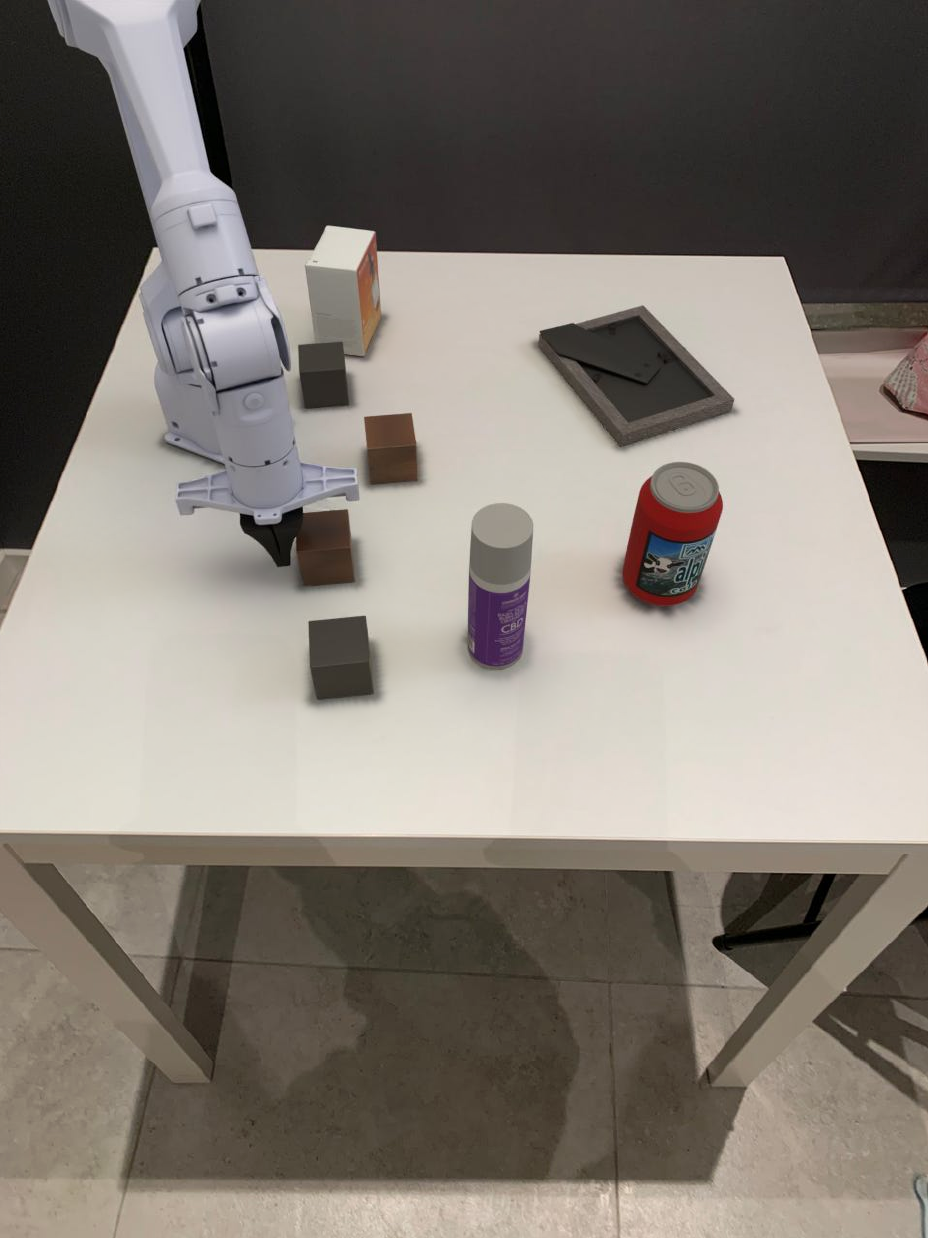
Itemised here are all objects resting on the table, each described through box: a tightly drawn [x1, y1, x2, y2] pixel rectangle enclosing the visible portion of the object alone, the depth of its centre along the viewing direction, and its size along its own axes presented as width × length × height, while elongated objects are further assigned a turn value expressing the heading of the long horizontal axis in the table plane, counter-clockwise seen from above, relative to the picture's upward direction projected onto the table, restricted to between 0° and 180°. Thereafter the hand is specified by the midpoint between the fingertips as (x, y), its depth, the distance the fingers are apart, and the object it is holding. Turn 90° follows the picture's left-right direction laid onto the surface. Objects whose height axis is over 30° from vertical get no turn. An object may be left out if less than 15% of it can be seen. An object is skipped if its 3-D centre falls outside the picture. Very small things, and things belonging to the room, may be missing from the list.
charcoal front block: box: [307, 615, 375, 700], centre depth 75 cm, size 5×5×5 cm
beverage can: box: [621, 461, 724, 607], centre depth 78 cm, size 7×7×12 cm
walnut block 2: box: [363, 412, 419, 485], centre depth 90 cm, size 5×5×5 cm
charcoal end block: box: [297, 342, 350, 409], centre depth 97 cm, size 5×5×5 cm
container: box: [467, 502, 534, 671], centre depth 72 cm, size 5×5×15 cm
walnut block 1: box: [295, 508, 356, 587], centre depth 82 cm, size 5×5×5 cm
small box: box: [304, 225, 382, 357], centre depth 100 cm, size 8×6×10 cm
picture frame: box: [537, 304, 736, 447], centre depth 100 cm, size 13×2×18 cm
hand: (283, 558), depth 82 cm, fingers closed
